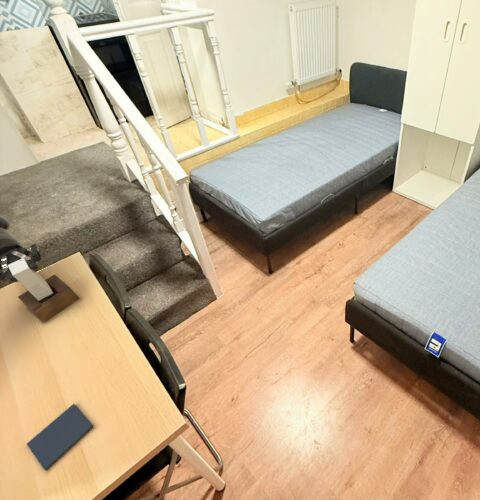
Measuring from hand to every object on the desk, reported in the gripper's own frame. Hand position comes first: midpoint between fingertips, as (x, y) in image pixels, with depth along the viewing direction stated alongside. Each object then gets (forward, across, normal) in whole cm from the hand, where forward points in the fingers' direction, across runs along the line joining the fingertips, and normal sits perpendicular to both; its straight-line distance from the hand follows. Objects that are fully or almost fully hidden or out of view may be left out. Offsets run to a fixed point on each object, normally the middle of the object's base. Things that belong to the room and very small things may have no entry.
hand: (24, 274), depth 96 cm
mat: (+41, -15, +16) cm, 47 cm away
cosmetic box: (-3, 0, +10) cm, 11 cm away
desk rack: (-3, 0, +16) cm, 16 cm away
